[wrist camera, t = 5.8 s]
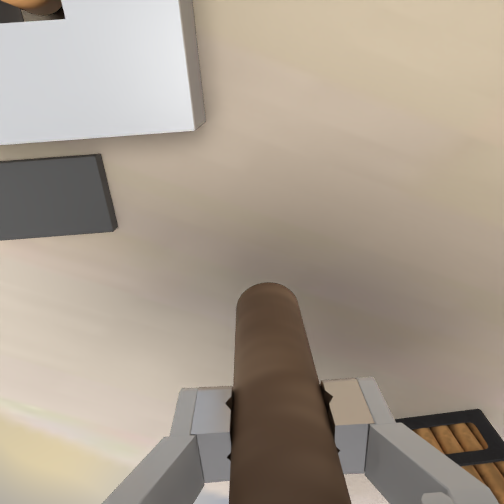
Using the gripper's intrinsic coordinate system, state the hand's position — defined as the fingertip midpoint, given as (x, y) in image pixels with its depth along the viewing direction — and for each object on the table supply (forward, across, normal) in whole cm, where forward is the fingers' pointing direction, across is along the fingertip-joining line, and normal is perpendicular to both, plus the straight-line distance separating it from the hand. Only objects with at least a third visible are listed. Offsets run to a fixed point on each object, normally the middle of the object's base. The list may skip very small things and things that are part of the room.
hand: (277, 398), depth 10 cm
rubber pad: (+16, -14, +3) cm, 21 cm away
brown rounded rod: (+5, 0, 0) cm, 5 cm away
